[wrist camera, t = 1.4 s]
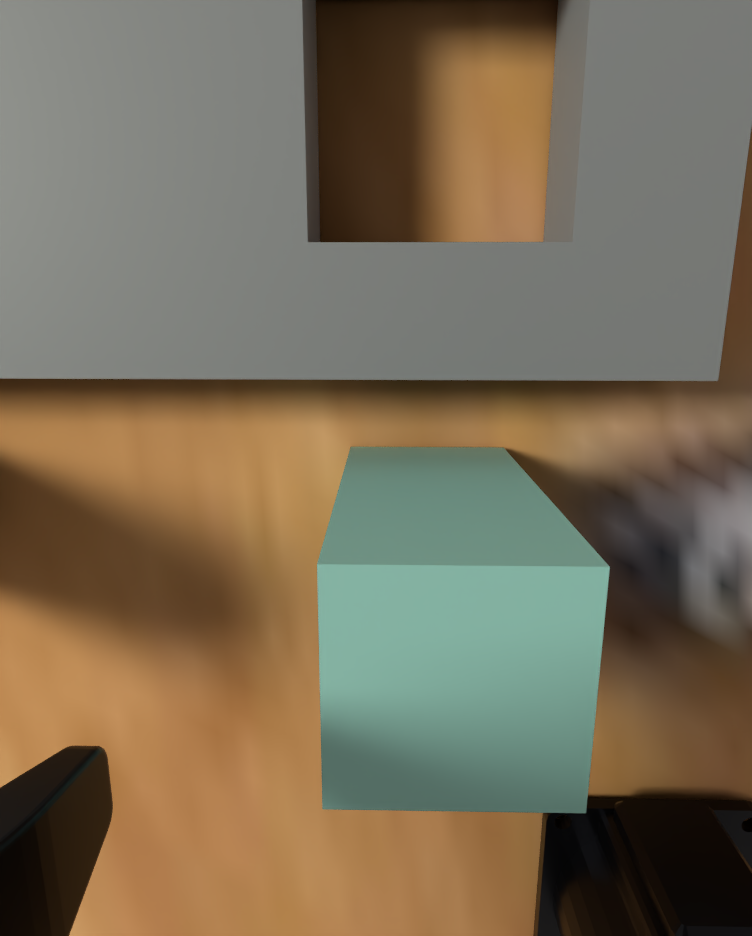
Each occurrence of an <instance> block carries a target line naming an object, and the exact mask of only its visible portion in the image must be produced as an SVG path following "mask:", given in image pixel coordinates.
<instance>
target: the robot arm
mask: <svg viewBox="0 0 752 936" xmlns="http://www.w3.org/2000/svg"><path fill="white" fill-rule="evenodd" d="M112 810H113V802H112V792H111V784H110V775H109V766H108V758H107V754H106V752H105V750H104V749H103V748H101V747H100V746H69V747H66V748H65V749H63V750H61V751H59V752H58V753H56V754H55V755H53V756H51V757H50V758H48V759H46V760H45V761H43V762H41V763H40V764H38V765H37V766H35V767H33V768H32V769H30V770H28V771H27V772H25V773H24V774H22V775H20V776H19V777H17V778H15V779H14V780H12V781H10V782H9V783H7V784H6V785H4V786H2V787H1V788H0V936H69V934H70V932H71V929H72V926H73V923H74V921H75V918H76V915H77V913H78V910H79V907H80V904H81V902H82V899H83V896H84V894H85V891H86V888H87V885H88V883H89V880H90V877H91V875H92V872H93V869H94V866H95V864H96V861H97V858H98V856H99V853H100V850H101V847H102V845H103V842H104V839H105V837H106V834H107V831H108V828H109V825H110V822H111V818H112ZM560 815H567V816H565V817H564V818H561V819H558V818H557V817H558V816H560ZM748 818H749V819H748ZM746 819H748V820H747V821H744V820H746ZM533 936H752V802H750V801H744V800H679V799H613V798H587V808H586V813H543V818H542V831H541V844H540V857H539V870H538V883H537V896H536V909H535V922H534V935H533Z"/></svg>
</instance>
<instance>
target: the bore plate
mask: <svg viewBox="0 0 752 936" xmlns="http://www.w3.org/2000/svg"><path fill="white" fill-rule="evenodd" d="M751 126H752V0H558V15H557V31H556V47H555V63H554V79H553V96H552V112H551V128H550V144H549V160H548V176H547V193H546V209H545V225H544V241H543V242H320V200H319V146H318V92H317V38H316V0H0V379H288V380H578V381H718V378H719V370H720V363H721V355H722V348H723V340H724V332H725V325H726V317H727V309H728V302H729V294H730V287H731V279H732V271H733V264H734V256H735V248H736V241H737V233H738V226H739V218H740V210H741V203H742V195H743V187H744V180H745V172H746V165H747V157H748V149H749V142H750V134H751Z"/></svg>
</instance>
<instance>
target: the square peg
mask: <svg viewBox="0 0 752 936" xmlns="http://www.w3.org/2000/svg"><path fill="white" fill-rule="evenodd" d="M609 570H610V566H609V565H608V564H607V563H606V562H605V561H604V560H603V559H602V558H601V556H600V555H599V554H598V553H597V552H596V551H595V550H594V549H593V547H592V546H591V545H590V544H589V543H588V542H587V541H586V540H585V538H584V537H583V536H582V535H581V534H580V533H579V532H578V531H577V529H576V528H575V527H574V526H573V525H572V524H571V523H570V522H569V520H568V519H567V518H566V517H565V516H564V515H563V514H562V513H561V512H560V510H559V509H558V508H557V507H556V506H555V505H554V504H553V503H552V501H551V500H550V499H549V498H548V497H547V496H546V495H545V494H544V492H543V491H542V490H541V489H540V488H539V487H538V486H537V485H536V483H535V482H534V481H533V480H532V479H531V478H530V477H529V476H528V474H527V473H526V472H525V471H524V470H523V469H522V468H521V467H520V466H519V464H518V463H517V462H516V461H515V460H514V459H513V458H512V457H511V455H510V454H509V453H508V452H507V451H506V450H505V449H504V448H496V447H351V448H350V451H349V455H348V458H347V462H346V465H345V469H344V472H343V476H342V479H341V483H340V486H339V490H338V493H337V497H336V500H335V504H334V507H333V511H332V514H331V518H330V521H329V525H328V528H327V532H326V535H325V539H324V542H323V546H322V549H321V553H320V556H319V560H318V563H317V579H318V624H319V669H320V714H321V759H322V804H323V809H341V810H406V811H470V812H535V813H586V808H587V797H588V787H589V777H590V766H591V756H592V746H593V735H594V725H595V715H596V704H597V694H598V684H599V673H600V663H601V653H602V642H603V632H604V622H605V611H606V601H607V591H608V580H609Z"/></svg>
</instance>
